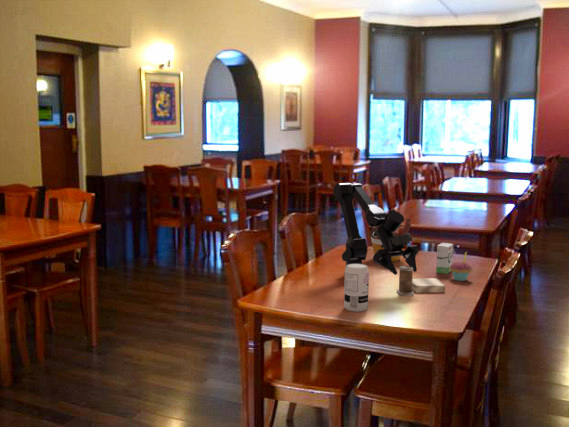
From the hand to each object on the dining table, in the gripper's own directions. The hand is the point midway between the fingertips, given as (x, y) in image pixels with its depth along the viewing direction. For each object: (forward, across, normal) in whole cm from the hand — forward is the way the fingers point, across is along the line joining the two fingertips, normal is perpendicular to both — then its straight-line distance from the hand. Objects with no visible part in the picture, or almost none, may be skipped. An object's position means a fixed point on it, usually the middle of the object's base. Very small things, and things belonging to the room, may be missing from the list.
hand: (406, 272), depth 236 cm
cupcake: (+1, +34, +10) cm, 35 cm away
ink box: (-9, +38, +20) cm, 44 cm away
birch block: (+4, +12, +8) cm, 15 cm away
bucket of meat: (-30, +32, +41) cm, 60 cm away
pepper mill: (+6, 0, +6) cm, 8 cm away
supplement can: (+11, -28, +1) cm, 30 cm away
